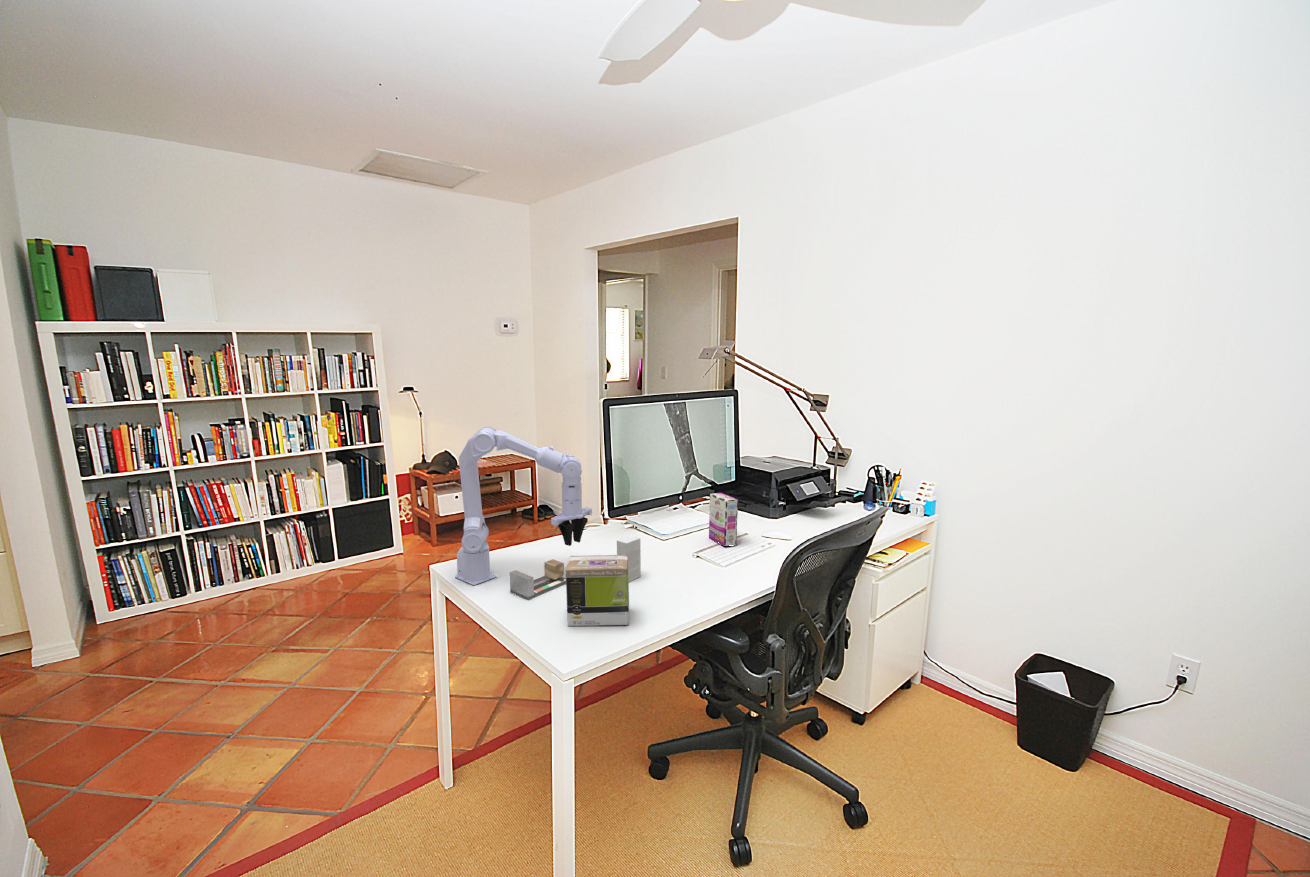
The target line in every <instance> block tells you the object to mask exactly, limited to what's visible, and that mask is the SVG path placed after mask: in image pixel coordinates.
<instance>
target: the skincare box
mask: <svg viewBox="0 0 1310 877" xmlns="http://www.w3.org/2000/svg"><path fill="white" fill-rule="evenodd" d="M616 555H628V576H629V582H632V581H633V580H635V579H638V578H640V577H641V576H642V575H641V572H642V571H641V569H642V567H641V564H642V563H641V560H642V558H641V537H638V536H635V535H631V534H630V535H629V534H628V535H626V536H624V537H622V538H619V539H617V540H616Z"/></svg>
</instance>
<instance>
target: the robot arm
mask: <svg viewBox="0 0 1310 877" xmlns="http://www.w3.org/2000/svg"><path fill="white" fill-rule="evenodd" d="M495 447H496V451H497V452H498V451H503V450H511V451H513V452H516V453H518V454H521V455H524V456H527V457H530V458H532V459H534V460H535V462H536V464H537V466H540V467H542V468H544V469H547V470H549V471H551V472H553V473H557V474H561V477H562V482H561V513H559V514H557V515H556V516H553V517H551V518H550V523H551V524H550V525H552V526H554V527H557V528H558V529H559V531H560V533H561V535H562V538H563V542H564V545H565V546H569V547H571V546H572V543H573V542H576V543H581V541H582V540H581V539H582V536H583V532H584V529H585V527H586V525H587V523H588V521H589V520H588V518H587V517H586V516H592V514H593V508H592V507H583V503H582V502H583V501H582V500H583V499H582V497H583V496H582V495H583V493H582V492H583V489H582V488H583V487H582V476H581V475H582V473H583V469H582V463H581V461H580V460H579V459H578V458H577V457H576V456H574V455H570V454H569V453H567V452H566V453H565V454H564V453H563V452H560V451H557V450H555V447H553V446H551V445H549V447H548V446H547V445H546V446H542V447H537V446H535V445H533V444H531V443H529V442H526V441H525V440H524V439H523V440H522V439H521V438H519V437H517V436H515V435H512V434H510V433H508V432H506V431H503V430H500V429H497V430H496V429H495V428H493V427H491V426H483V427H482V428H480V429H479V430H478V431H477V432H475V433H474V434H473V435H472V436H471V437H470V438H468V440H467V442H466V444H465V446H464V447H463V449H462V451H461V453H460V455H459V456H458V462H459V463H458V466H459V475H460V483H461V484H460V485H461V493H462V505H463V513H464V523H463V536H462V537H461V547H460V548H459V550H458V551H457V554H456V567H457V568H456V570H457V574H456V575H454V577H455V578H457V579H459V580H460V581H462V582H464V583H467V584H470V585H472V586H475V585H478V584H481V583H484V582H487V581H490V580H492V579H495V578H497V574H495V573H492V572H491V565H490V563H491V562H490V546H489V544H488V542H487V539H488V538H489V534H490V530H489V527H488V526H487V524H486V521H485V517H484V514H483V508H482V506H483V505H482V495H481V485H480V476H479V466H478V464H479V463H478V462H479V461H480V459H481V458H482V457H483V456H486V455H487V454H490V453H491V452H492V451H493V450H494V449H495Z"/></svg>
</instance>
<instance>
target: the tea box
mask: <svg viewBox="0 0 1310 877" xmlns="http://www.w3.org/2000/svg"><path fill="white" fill-rule="evenodd" d="M565 578H566V584H565V587H566V588H565V589H566V592H565V594H566V614H567V615H566V617H567V626H568V627H572V626H573V627H577V626H580V627H582V626H583V627H584V626H585V627H586V626H629V625H630V624H629V621H630V618H629V614H630V613H629V612H630V592H629V591H630V588H629V587H630V585H629V584H630V583H629V576H628V555H617V554H602V555H600V554H599V555H597V554H596V555H570V556H569V558H568V563H567V566H566V569H565Z"/></svg>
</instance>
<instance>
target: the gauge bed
mask: <svg viewBox="0 0 1310 877" xmlns="http://www.w3.org/2000/svg"><path fill="white" fill-rule="evenodd" d="M561 578H564V581H561V580H558V579H552V578H549V577H547V576H545V575H543V576H540V577H537V578H536V579H534V576H532V575H529V574H527V573H524V572H522V571H519V570H516V569H515V570H512V571H510V572H509V592H510V593H511V594H513V593H514V594H513V595H515V594H516V596H519V597H520V598H522V599H525V600H527V601H529V600H532V599H533V598H537V597H538V596H541V595H543V594H546V593H548V592H550V591H552V590H556V589H557V588H560V587H561V586H564V585H566V577H564V576H562V577H561Z"/></svg>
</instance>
